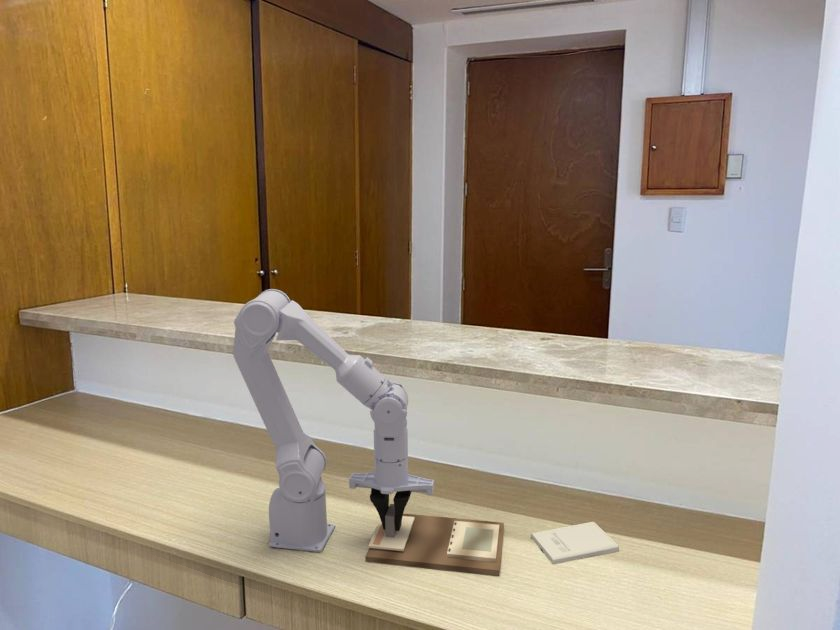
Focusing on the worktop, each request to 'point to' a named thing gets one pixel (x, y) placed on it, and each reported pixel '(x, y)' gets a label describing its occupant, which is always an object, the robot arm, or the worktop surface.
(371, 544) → the stub
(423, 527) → the ticket board
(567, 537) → the external hard drive
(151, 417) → the worktop surface
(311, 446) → the robot arm
